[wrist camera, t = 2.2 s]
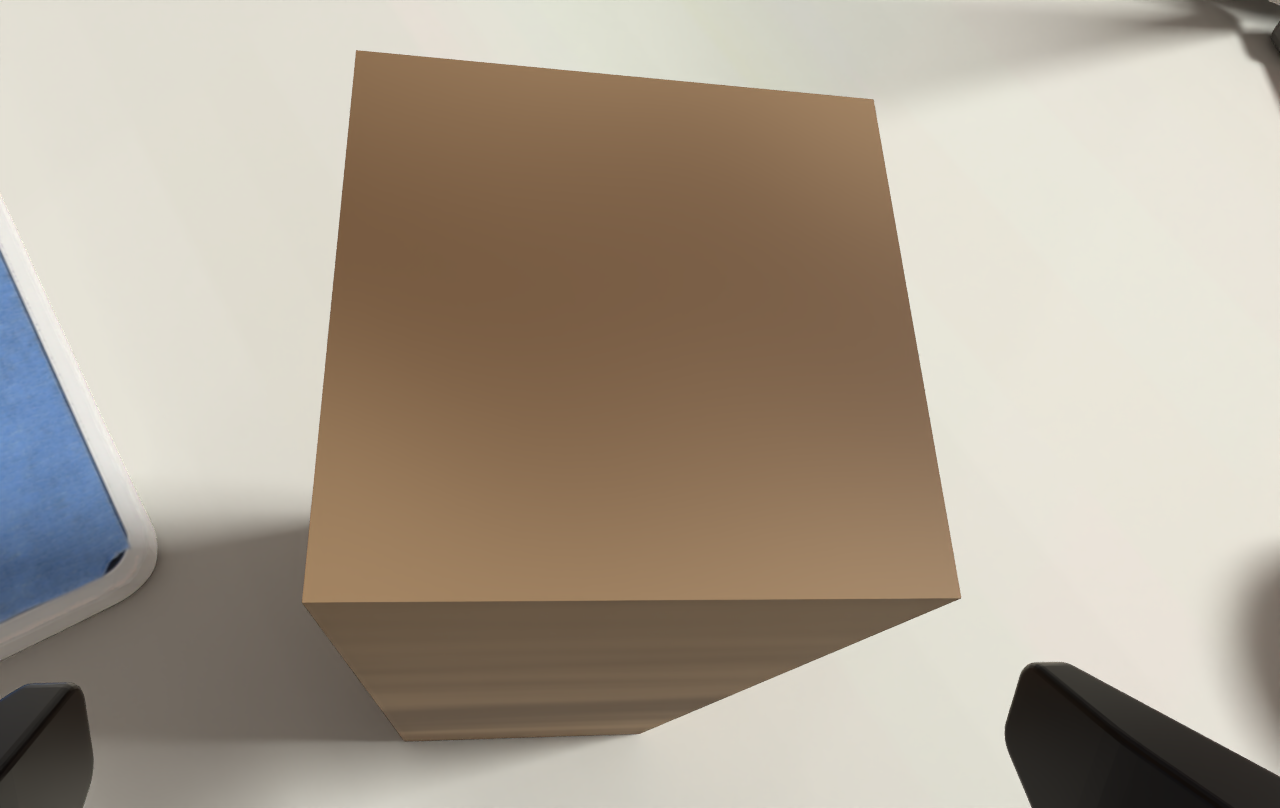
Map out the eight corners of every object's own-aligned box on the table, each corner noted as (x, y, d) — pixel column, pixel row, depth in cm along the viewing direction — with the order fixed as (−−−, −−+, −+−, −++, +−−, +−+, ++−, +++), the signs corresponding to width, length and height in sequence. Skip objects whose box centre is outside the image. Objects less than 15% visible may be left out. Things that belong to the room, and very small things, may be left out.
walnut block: (640, 733, 18) (960, 598, 7) (404, 741, 18) (301, 602, 6) (631, 513, 20) (873, 99, 8) (416, 510, 19) (355, 51, 8)
